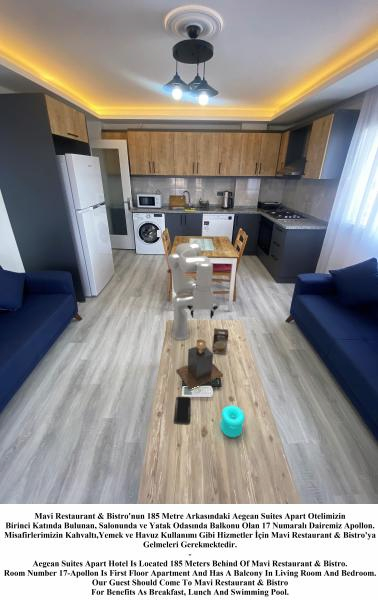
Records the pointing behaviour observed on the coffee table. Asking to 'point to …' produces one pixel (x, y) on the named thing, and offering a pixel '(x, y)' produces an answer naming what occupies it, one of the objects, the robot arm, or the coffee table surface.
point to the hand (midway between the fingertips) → (201, 316)
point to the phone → (182, 410)
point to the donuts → (232, 421)
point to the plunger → (200, 346)
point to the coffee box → (220, 341)
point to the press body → (199, 368)
